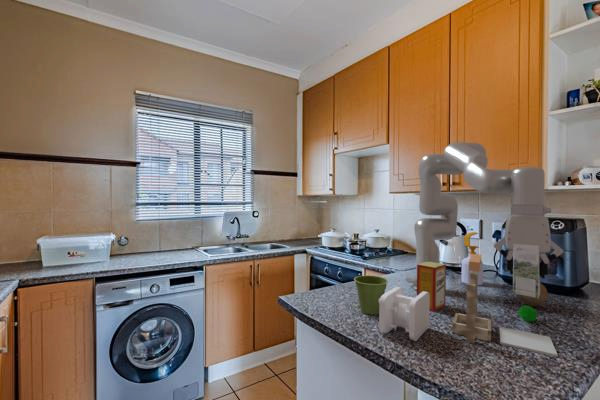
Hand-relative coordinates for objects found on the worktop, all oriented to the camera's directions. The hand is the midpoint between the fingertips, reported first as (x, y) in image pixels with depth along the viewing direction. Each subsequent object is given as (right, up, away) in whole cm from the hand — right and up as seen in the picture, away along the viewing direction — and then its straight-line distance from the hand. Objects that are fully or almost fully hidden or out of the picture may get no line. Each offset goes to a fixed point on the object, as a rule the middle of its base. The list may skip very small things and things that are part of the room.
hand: (526, 274), depth 83 cm
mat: (0, -19, 0) cm, 19 cm away
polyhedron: (+12, -19, +15) cm, 27 cm away
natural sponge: (+24, -19, +28) cm, 42 cm away
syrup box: (0, -6, 0) cm, 6 cm away
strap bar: (-2, -2, +21) cm, 22 cm away
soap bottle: (+20, -19, +60) cm, 66 cm away
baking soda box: (-15, -19, +27) cm, 36 cm away
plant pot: (-39, -19, +21) cm, 48 cm away
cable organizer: (-32, -19, +5) cm, 38 cm away
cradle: (-12, -19, +6) cm, 23 cm away
